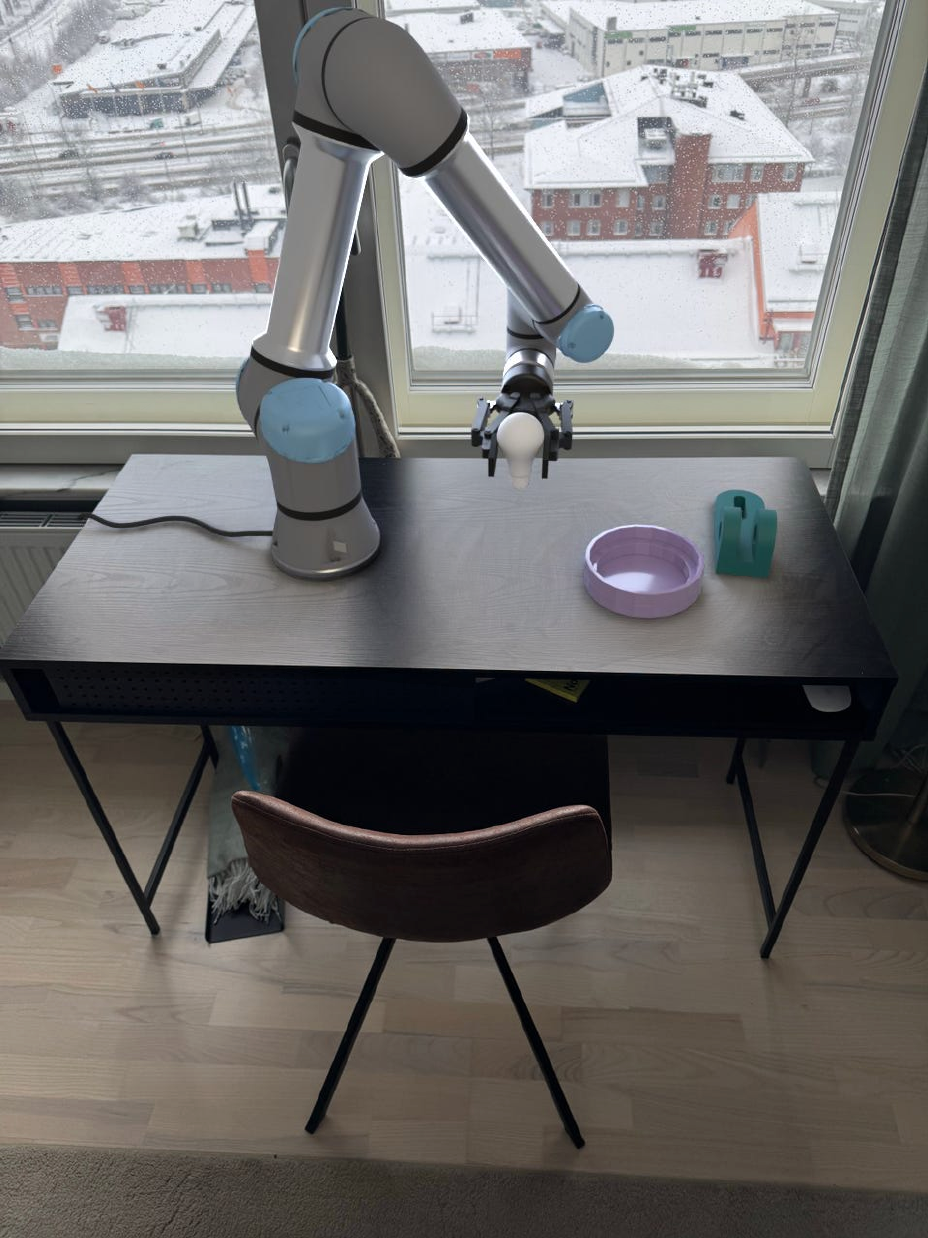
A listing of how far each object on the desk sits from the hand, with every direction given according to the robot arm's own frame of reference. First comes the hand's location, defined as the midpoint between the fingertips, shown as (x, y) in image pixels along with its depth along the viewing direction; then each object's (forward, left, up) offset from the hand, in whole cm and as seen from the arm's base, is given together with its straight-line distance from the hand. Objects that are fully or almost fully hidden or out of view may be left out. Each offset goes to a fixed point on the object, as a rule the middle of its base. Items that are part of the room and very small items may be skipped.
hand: (518, 468), depth 118 cm
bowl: (+17, +3, -15) cm, 23 cm away
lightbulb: (-2, +5, -6) cm, 8 cm away
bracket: (+26, +19, -16) cm, 36 cm away
